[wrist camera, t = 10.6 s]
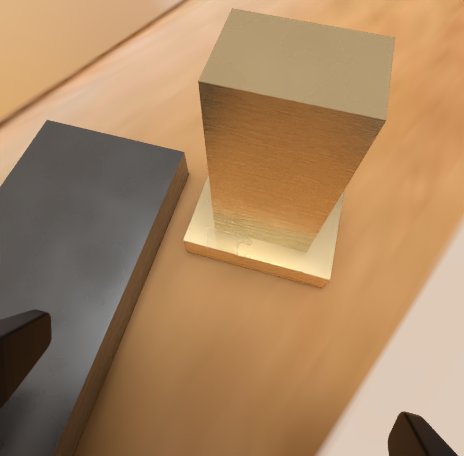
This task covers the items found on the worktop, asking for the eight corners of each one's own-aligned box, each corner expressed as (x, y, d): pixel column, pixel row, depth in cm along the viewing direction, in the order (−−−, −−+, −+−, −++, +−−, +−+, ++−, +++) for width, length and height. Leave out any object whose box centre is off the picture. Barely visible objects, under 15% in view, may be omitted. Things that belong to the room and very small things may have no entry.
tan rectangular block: (321, 288, 16) (443, 168, 7) (187, 251, 17) (134, 99, 8) (335, 203, 18) (444, 22, 9) (215, 174, 19) (201, -19, 10)
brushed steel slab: (48, 516, 12) (-63, 600, 7) (-130, 446, 13) (-325, 483, 8) (188, 174, 19) (174, 108, 14) (64, 143, 19) (13, 73, 15)
